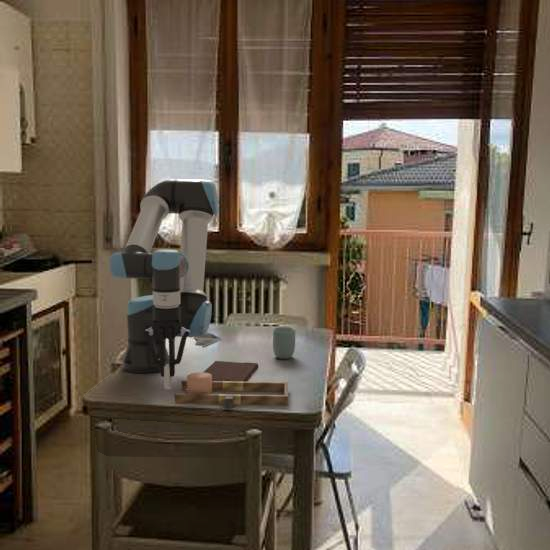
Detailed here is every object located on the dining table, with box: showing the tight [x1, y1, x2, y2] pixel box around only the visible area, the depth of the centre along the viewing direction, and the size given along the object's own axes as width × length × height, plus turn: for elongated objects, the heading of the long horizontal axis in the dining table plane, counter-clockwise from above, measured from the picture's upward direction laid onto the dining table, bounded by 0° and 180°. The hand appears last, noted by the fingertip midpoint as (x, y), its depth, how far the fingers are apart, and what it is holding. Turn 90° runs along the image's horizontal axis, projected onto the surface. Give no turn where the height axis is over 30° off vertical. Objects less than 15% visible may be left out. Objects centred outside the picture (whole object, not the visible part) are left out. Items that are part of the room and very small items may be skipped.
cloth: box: [193, 331, 223, 349], centre depth 234 cm, size 26×14×2 cm, turn 176°
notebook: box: [203, 360, 259, 382], centre depth 191 cm, size 15×20×2 cm
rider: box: [186, 371, 213, 394], centre depth 171 cm, size 7×7×6 cm
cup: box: [272, 326, 296, 360], centre depth 210 cm, size 8×8×10 cm
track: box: [174, 380, 289, 409], centre depth 170 cm, size 31×14×2 cm, turn 89°
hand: (167, 387), depth 171 cm, fingers closed
